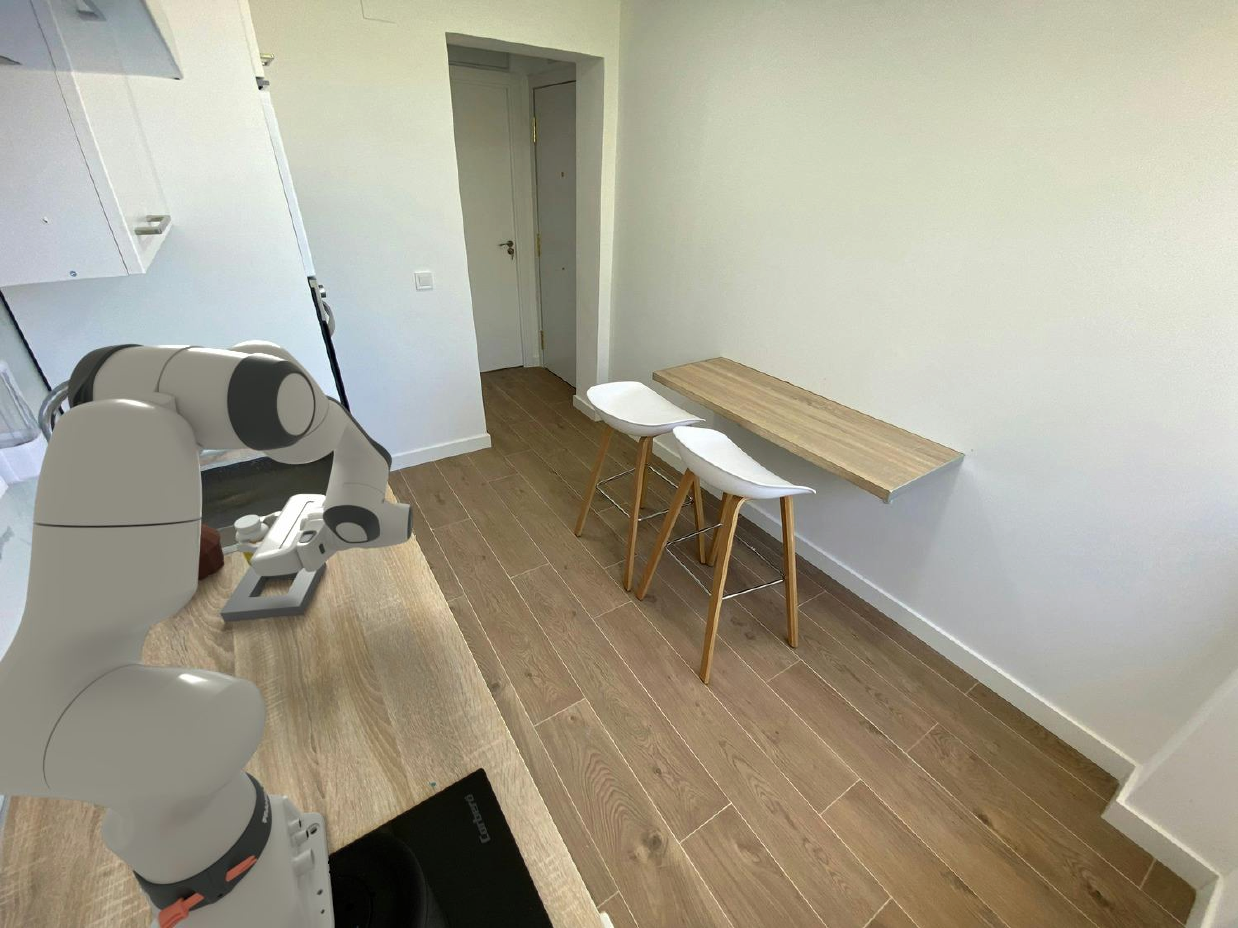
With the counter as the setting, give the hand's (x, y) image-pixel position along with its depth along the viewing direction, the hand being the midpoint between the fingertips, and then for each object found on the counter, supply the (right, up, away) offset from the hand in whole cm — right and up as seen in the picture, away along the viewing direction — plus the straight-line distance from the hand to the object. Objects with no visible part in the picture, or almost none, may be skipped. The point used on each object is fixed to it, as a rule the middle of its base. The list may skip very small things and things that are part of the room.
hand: (247, 534), depth 95 cm
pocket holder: (0, -13, +8) cm, 16 cm away
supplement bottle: (+1, -6, +4) cm, 7 cm away
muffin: (-20, -9, +13) cm, 26 cm away
